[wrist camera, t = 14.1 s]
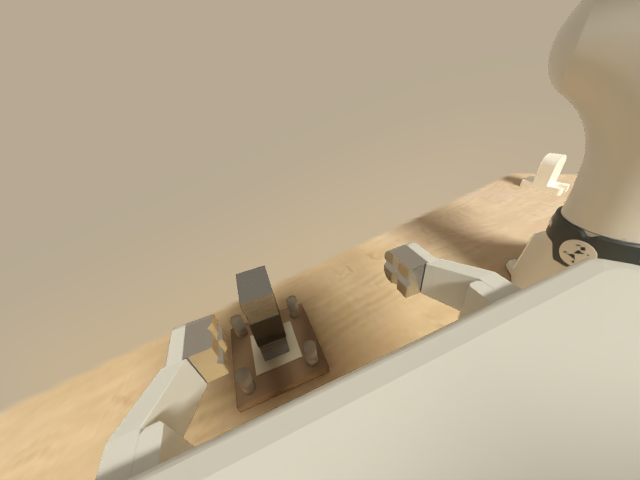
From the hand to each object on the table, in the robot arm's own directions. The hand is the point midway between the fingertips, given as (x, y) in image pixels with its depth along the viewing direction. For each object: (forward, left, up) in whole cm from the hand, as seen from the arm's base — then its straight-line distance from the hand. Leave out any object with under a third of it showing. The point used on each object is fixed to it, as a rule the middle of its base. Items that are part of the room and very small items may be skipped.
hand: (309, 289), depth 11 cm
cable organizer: (-82, -32, -25) cm, 92 cm away
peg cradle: (+3, -15, -25) cm, 29 cm away
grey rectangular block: (+3, -15, -24) cm, 28 cm away
